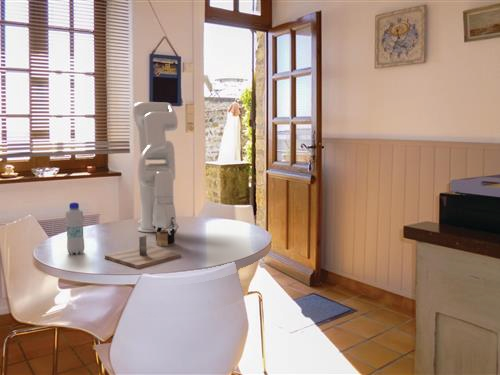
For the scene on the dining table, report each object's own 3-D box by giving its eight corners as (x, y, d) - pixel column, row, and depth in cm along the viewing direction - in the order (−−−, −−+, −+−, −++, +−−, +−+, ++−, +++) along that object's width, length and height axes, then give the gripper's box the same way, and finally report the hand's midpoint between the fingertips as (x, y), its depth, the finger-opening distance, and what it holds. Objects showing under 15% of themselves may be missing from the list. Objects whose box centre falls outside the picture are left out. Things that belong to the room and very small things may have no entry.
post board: (104, 258, 180) (104, 236, 179) (148, 248, 196) (147, 228, 194) (137, 268, 168) (136, 245, 166) (181, 256, 183) (180, 235, 182)
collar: (153, 244, 202) (153, 232, 201) (166, 241, 207) (166, 229, 206) (164, 246, 198) (163, 235, 197) (176, 243, 203) (176, 232, 202)
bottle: (88, 251, 190) (86, 201, 187) (77, 256, 184) (75, 204, 181) (74, 250, 192) (72, 200, 189) (63, 254, 186) (60, 203, 183)
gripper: (144, 199, 203) (145, 240, 205) (171, 203, 192) (172, 247, 194) (158, 197, 208) (159, 237, 211) (185, 201, 197) (186, 243, 199)
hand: (165, 241), depth 202 cm, fingers closed on collar, 6 cm apart
